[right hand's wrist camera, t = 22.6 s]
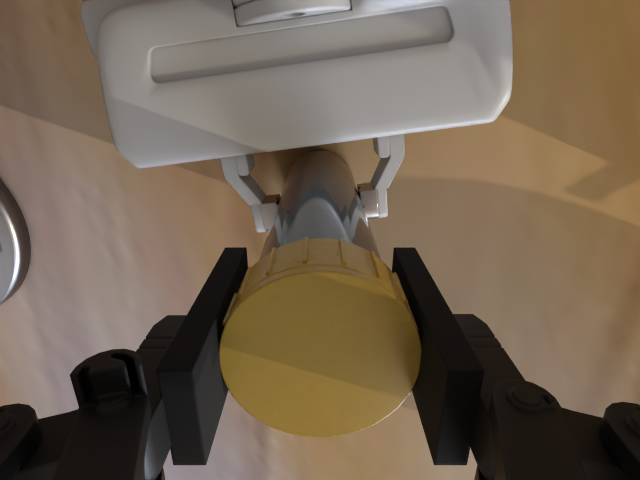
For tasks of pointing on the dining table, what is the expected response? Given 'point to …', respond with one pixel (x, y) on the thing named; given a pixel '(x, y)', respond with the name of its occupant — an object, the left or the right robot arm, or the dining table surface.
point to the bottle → (320, 204)
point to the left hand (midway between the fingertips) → (322, 221)
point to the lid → (320, 339)
